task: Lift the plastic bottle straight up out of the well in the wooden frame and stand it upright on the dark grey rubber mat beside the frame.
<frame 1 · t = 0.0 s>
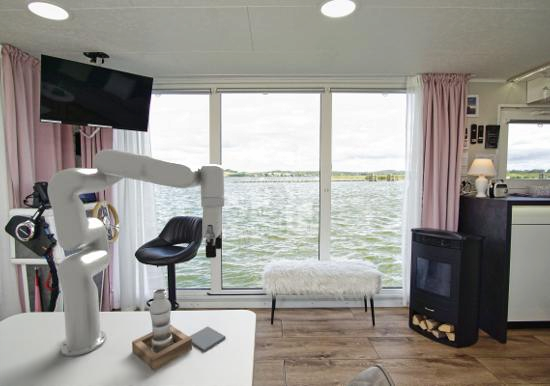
hand: (214, 252, 91), 31 cm above the table, tool pointing down, fingers open, 9 cm apart
wooden frame: (162, 350, 89), on the table
plastic bottle: (162, 350, 89), resting in wooden frame
rubber mat: (206, 339, 94), on the table
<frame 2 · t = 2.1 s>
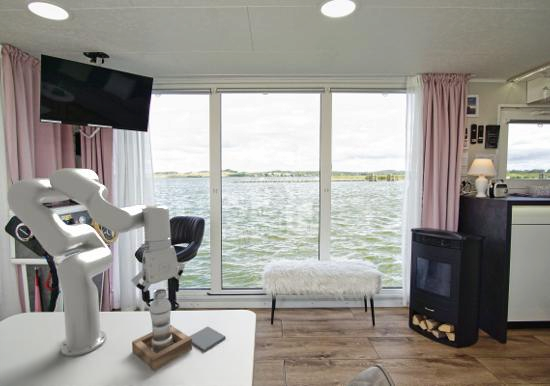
hand: (161, 296, 87), 18 cm above the table, tool pointing down, fingers open, 9 cm apart
nothing on the table moved.
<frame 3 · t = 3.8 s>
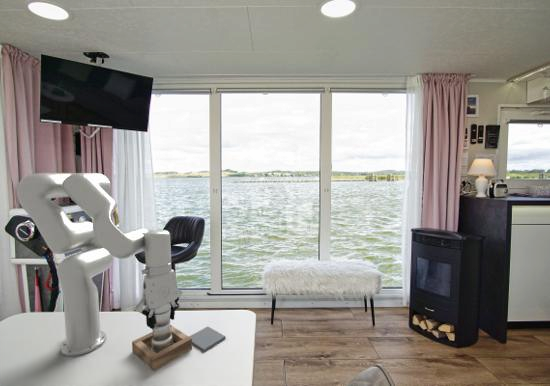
hand: (161, 322, 88), 10 cm above the table, tool pointing down, fingers closed on plastic bottle, 6 cm apart
plastic bottle: (162, 350, 89), resting in wooden frame, touching gripper
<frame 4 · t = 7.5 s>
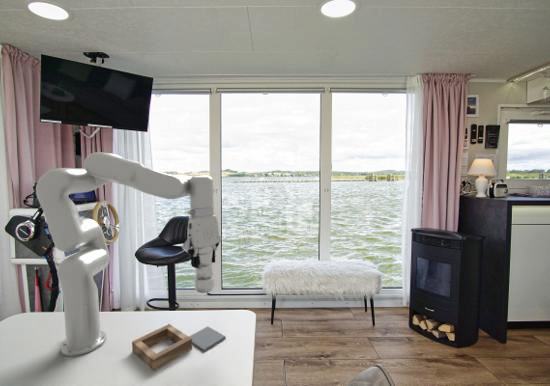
hand: (203, 264, 92), 27 cm above the table, tool pointing down, fingers closed on plastic bottle, 6 cm apart
plastic bottle: (204, 291, 93), point 17 cm above the table, touching gripper
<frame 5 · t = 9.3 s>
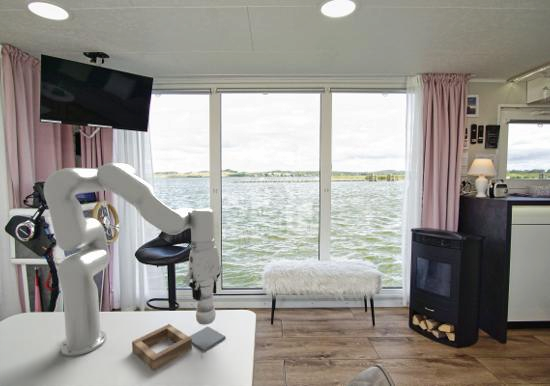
hand: (204, 295, 93), 16 cm above the table, tool pointing down, fingers closed on plastic bottle, 6 cm apart
plastic bottle: (206, 322, 94), point 6 cm above the table, touching gripper
when the fingers open (12 cm above the table, at t = 11.1 s): plastic bottle drops 1 cm, resting on rubber mat.
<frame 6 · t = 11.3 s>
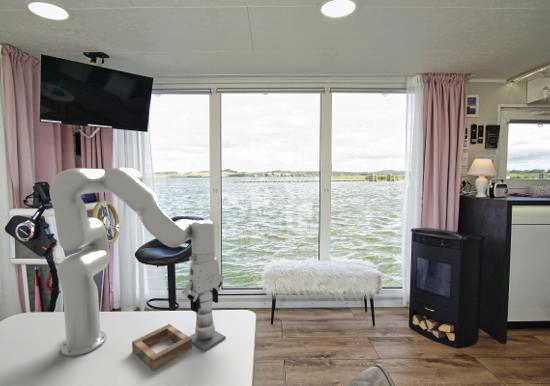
hand: (205, 305, 93), 12 cm above the table, tool pointing down, fingers open, 7 cm apart
plastic bottle: (205, 337, 94), point 1 cm above the table, touching rubber mat
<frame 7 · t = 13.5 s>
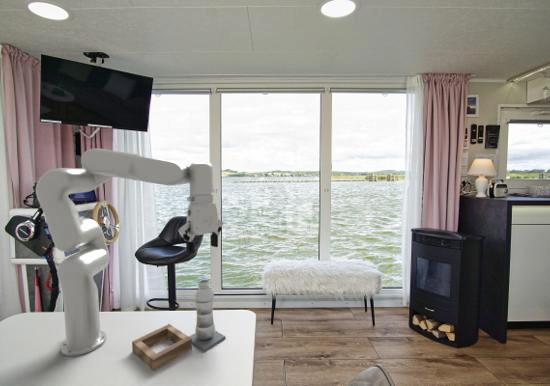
hand: (203, 249, 92), 32 cm above the table, tool pointing down, fingers open, 9 cm apart
nothing on the table moved.
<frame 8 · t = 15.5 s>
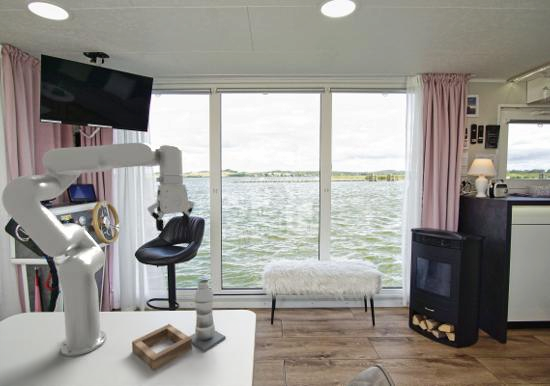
hand: (173, 228, 97), 38 cm above the table, tool pointing down, fingers open, 9 cm apart
nothing on the table moved.
at the end: plastic bottle inside the target area on the rubber mat (0.3 cm from its centre), point 0.6 cm above the rubber mat's base; plastic bottle tilted 0°; the gripper is holding nothing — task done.
